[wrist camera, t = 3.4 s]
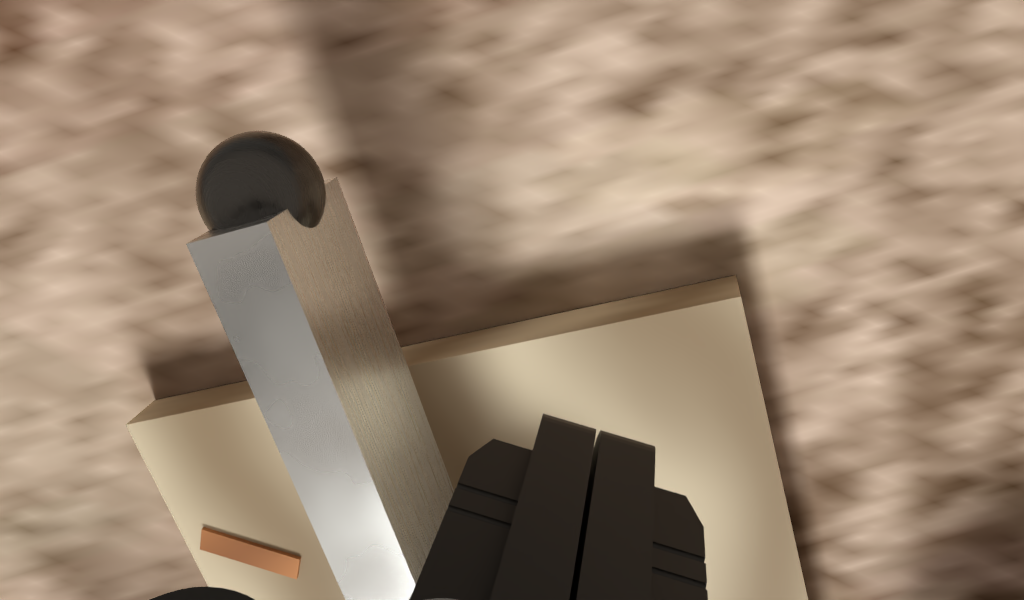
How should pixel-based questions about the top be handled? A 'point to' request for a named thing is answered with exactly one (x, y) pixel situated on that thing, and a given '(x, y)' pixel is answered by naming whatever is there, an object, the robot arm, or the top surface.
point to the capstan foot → (321, 360)
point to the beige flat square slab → (511, 438)
